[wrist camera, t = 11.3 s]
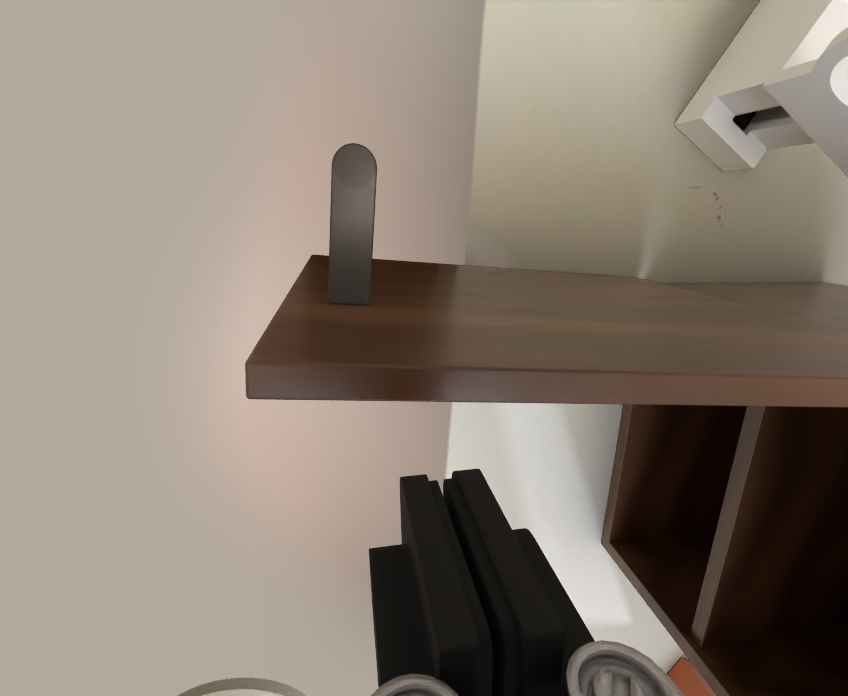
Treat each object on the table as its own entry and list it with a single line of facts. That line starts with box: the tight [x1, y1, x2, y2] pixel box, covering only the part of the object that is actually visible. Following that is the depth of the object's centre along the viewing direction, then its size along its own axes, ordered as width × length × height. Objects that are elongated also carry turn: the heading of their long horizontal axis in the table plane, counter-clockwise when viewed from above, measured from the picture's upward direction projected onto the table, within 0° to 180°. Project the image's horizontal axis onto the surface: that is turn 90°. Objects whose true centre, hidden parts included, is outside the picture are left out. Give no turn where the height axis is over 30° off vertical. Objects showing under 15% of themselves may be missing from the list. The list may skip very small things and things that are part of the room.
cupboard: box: [601, 282, 848, 696], centre depth 33 cm, size 18×26×24 cm
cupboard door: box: [245, 143, 848, 407], centre depth 24 cm, size 7×26×24 cm, turn 85°
